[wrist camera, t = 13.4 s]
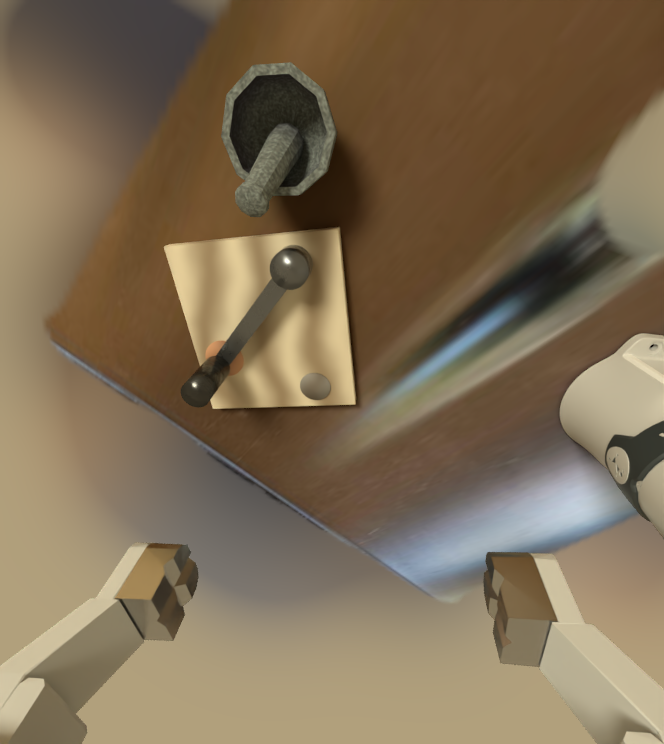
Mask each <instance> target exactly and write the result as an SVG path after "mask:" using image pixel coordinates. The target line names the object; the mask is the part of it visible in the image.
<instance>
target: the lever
mask: <svg viewBox="0 0 664 744" xmlns="http://www.w3.org/2000/svg"><path fill="white" fill-rule="evenodd" d="M312 269H313V261H312V257H311V255H310V254H309V252H308V251H307V250H306V249H304V248H303V247H301V246H298V245H289V246H286V247H284V248H283V249H282V250H281V251H279V252H278V253H277V254H276V255H275V256H274V257H273V258H272V260H271V263H270V274H271V277H272V279H271V280H270V281H269V283H268V284H267V285H266V287H265V288H264V290H263V291H262V292H261V294H260V295H259V297H258V298H257V299H256V301H255V302H254V303H253V305H252V306H251V308H250V309H249V310H248V312H247V313H246V315H245V316H244V317H243V319H242V320H241V321H240V323H239V324H238V326H237V327H236V328H235V330H234V331H233V332H232V334H231V335H230V337H229V338H228V339H227V341H226V342H225V344H224V345H223V346H222V348H221V349H220V350H219V352H218V353H217V355H216V356H211V357H209V358H208V359H207V360H206V361H205V362H204V363H203V364H202V365H201V366H200V367H199V368H198V370H197V371H196V372H195V373H194V374H193V375H192V376H191V377H190V378H189V380H188V381H187V382H186V383H185V384H184V385H183V386H182V388H181V396H182V398H183V399H184V401H185V402H186V403H188V404H189V405H191V406H194V407H203V406H205V405H207V403H208V402H209V401H210V399H211V398H212V397H213V395H214V394H215V393H216V391H217V390H218V389H219V387H220V386H221V384H222V383H223V382H224V380H225V379H226V378H227V376H228V375H229V373H230V366H229V365H230V364H231V363H232V362H233V360H234V359H235V358H236V356H237V355H238V354H239V352H240V351H241V350H242V348H243V347H244V346H245V344H246V343H247V342H248V340H249V339H250V338H251V336H252V335H253V334H254V333H255V331H256V330H257V329H258V327H259V326H260V325H261V323H262V322H263V321H264V319H265V318H266V317H267V315H268V314H269V313H270V311H271V310H272V309H273V308H274V306H275V305H276V304H277V302H278V301H279V300H280V298H281V297H282V296H283V294H284V293H285V292H286V290H294V289H297V288H299V287H301V286H302V285H303V284H304V283H305V282H306V280H307V279H308V277H309V276H310V274H311V272H312Z"/></svg>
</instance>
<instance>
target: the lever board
mask: <svg viewBox="0 0 664 744" xmlns="http://www.w3.org/2000/svg"><path fill="white" fill-rule="evenodd" d="M289 245H298V246H301V247H303V248H304V249H306V250H307V251H308V252H309V254H310V255H311V257H312V261H313V269H312V272H311V274H310V276H309V277H308V279H307V280H306V282H305V283H304V284H303V285H302V286H301V287H299V288H297V289H294V290H286V292H285V293H284V294H283V296H282V297H281V298H280V300H279V301H278V302H277V304H276V305H275V306H274V308H273V309H272V310H271V311H270V313H269V314H268V315H267V317H266V318H265V319H264V321H263V322H262V323H261V325H260V326H259V327H258V329H257V330H256V331H255V333H254V334H253V335H252V336H251V338H250V339H249V340H248V342H247V343H246V344H245V346H244V347H243V348H242V350H241V351H240V352H239V354H238V355H237V356H236V358H235V359H234V360H233V362H232V363H231V364H230V365H229V366H230V373H229V375H228V376H227V378H226V379H225V380H224V382H223V383H222V384H221V386H220V387H219V389H218V390H217V391H216V393H215V394H214V395H213V397H212V398H211V399H210V400H211V403H212V407H213V409H223V408H255V407H288V406H320V405H353V404H356V392H355V381H354V371H353V360H352V350H351V339H350V329H349V318H348V308H347V298H346V287H345V277H344V266H343V256H342V245H341V235H340V227H334V228H324V229H314V230H305V231H295V232H285V233H275V234H266V235H256V236H246V237H237V238H227V239H217V240H207V241H198V242H188V243H178V244H170V245H167V246H164V249H165V252H166V256H167V259H168V262H169V265H170V269H171V272H172V275H173V279H174V282H175V285H176V288H177V292H178V295H179V298H180V302H181V305H182V308H183V311H184V315H185V318H186V321H187V325H188V328H189V331H190V334H191V338H192V341H193V344H194V347H195V351H196V354H197V357H198V361H199V364H200V366H201V365H202V364H203V363H204V362H205V361H206V360H207V359H208V358H209V357H211V356H216V355H217V353H218V352H219V350H220V349H221V348H222V346H223V345H224V344H225V342H226V341H227V339H228V338H229V337H230V335H231V334H232V332H233V331H234V330H235V328H236V327H237V326H238V324H239V323H240V321H241V320H242V319H243V317H244V316H245V315H246V313H247V312H248V310H249V309H250V308H251V306H252V305H253V303H254V302H255V301H256V299H257V298H258V297H259V295H260V294H261V292H262V291H263V290H264V288H265V287H266V285H267V284H268V283H269V281H270V280H271V279H272V277H271V274H270V263H271V260H272V258H273V257H274V256H275V255H276V254H277V253H278V252H279V251H281V250H282V249H283V248H284V247H286V246H289Z"/></svg>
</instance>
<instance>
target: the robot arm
mask: <svg viewBox="0 0 664 744" xmlns="http://www.w3.org/2000/svg"><path fill="white" fill-rule="evenodd" d="M653 344H654V346H653V347H652V348H650V346H651V345H653ZM560 421H561V424H562V427H563V429H564V430H565V432H566V433H567V434H568V436H569V437H571V438H572V439H573V440H574V441H576V442H577V443H579V444H580V445H581V446H583V447H584V448H585V449H586V450H587V451H589V452H590V453H591V454H592V455H593V456H594V457H595V458H596V459H597V460H598V461H599V462H600V463H601V464H602V465H604V466H605V467H606V468H607V469H608V470H609V472H610V474H611V476H612V477H613V479H614V481H615V482H616V484H617V486H618V487H619V489H620V490H621V491H622V493H623V494H624V495H625V497H626V498H627V499H628V500H629V502H630V503H631V504H632V505H633V507H634V508H635V509H636V510H637V512H638V513H639V514H640V515H641V516H642V517H644V518H645V519H646V520H648V521H650V522H651V523H652V524H653V525H654V527H655V528H656V529H657V531H658V532H659V533H660V535H661V536H662V537H663V539H664V336H662V335H653V334H638V335H635V336H634V337H632V338H631V339H629V340H628V341H627V342H626V343H625V344H624V345H623V346H622V347H621V348H620V349H619V350H618V351H617V352H616V353H614V354H613V355H612V356H610V357H608V358H606V359H604V360H602V361H600V362H599V363H597V364H595V365H593V366H592V367H590V368H589V369H587V370H586V371H585V372H583V373H582V374H581V375H580V376H579V377H578V378H577V379H576V380H575V381H574V382H573V383H572V384H571V385H570V387H569V388H568V390H567V391H566V393H565V395H564V397H563V399H562V402H561V406H560ZM190 554H191V551H190V549H189V547H188V545H182V544H159V543H137V542H136V543H135V544H133V545H132V546H131V547H130V548H129V549H128V551H127V552H126V554H125V555H124V557H123V558H122V560H121V561H120V563H119V564H118V566H117V567H116V569H115V570H114V572H113V573H112V575H111V576H110V578H109V579H108V581H107V582H106V584H105V585H104V587H103V588H102V590H101V591H100V593H99V594H98V596H97V597H96V598H91V599H89V600H88V601H86V602H85V603H84V604H82V605H81V606H80V607H78V608H77V609H76V610H74V611H73V612H72V613H70V614H69V615H68V616H66V617H65V618H64V619H62V620H61V621H60V622H58V623H57V624H56V625H54V626H53V627H52V628H50V629H49V630H48V631H46V632H45V633H44V634H42V635H41V636H40V637H38V638H37V639H36V640H34V641H33V642H32V643H30V644H29V645H27V646H26V647H25V648H23V649H22V650H21V651H19V652H18V653H17V654H15V655H14V656H13V657H11V658H10V659H9V660H8V661H6V662H5V663H3V664H2V665H1V666H0V744H82V742H83V740H84V738H85V736H86V734H87V726H86V725H85V724H84V723H83V721H82V720H81V719H80V718H79V717H78V716H77V715H76V713H77V712H78V711H79V710H80V709H81V708H82V707H83V705H84V704H85V703H86V702H87V701H88V700H89V699H90V698H91V697H92V696H93V695H94V694H95V693H96V692H97V691H98V690H99V689H100V687H102V685H103V684H104V683H105V682H106V681H107V680H108V679H109V678H110V677H111V676H112V675H113V674H114V673H115V672H116V671H117V670H118V669H119V668H120V667H121V666H122V664H123V663H124V662H125V661H126V660H127V659H128V658H129V657H130V656H131V655H132V654H133V653H134V652H135V651H136V650H137V649H138V648H139V647H140V646H141V644H142V643H143V642H144V640H166V641H173V640H174V638H175V635H176V634H177V631H178V629H179V627H180V625H181V622H182V620H183V618H184V616H185V613H184V608H183V606H184V605H185V604H186V603H187V602H189V601H190V600H191V599H192V597H193V595H194V592H195V590H196V587H197V582H198V568H197V565H196V563H195V562H194V561H193V560H191V559H190V558H189V556H190ZM485 562H486V565H487V569H488V570H487V571H486V572H484V581H483V583H484V594H485V600H486V605H487V609H488V613H489V615H490V616H491V617H492V618H493V619H494V620H495V621H494V628H493V635H494V639H495V643H496V647H497V651H498V655H499V659H500V663H503V664H514V665H524V666H535V667H540V668H539V669H540V671H541V672H542V673H543V674H544V676H545V677H546V679H547V680H548V681H549V682H550V684H551V685H552V686H553V687H554V689H555V690H556V691H557V693H558V694H559V695H560V697H561V698H562V699H563V700H564V702H565V703H566V704H567V706H568V707H569V708H570V709H571V711H572V712H573V713H574V715H575V716H576V717H577V718H578V720H579V721H580V722H581V724H582V725H583V726H584V727H585V729H586V730H587V731H588V733H589V734H590V735H591V736H592V738H593V739H594V740H595V742H596V743H597V744H664V689H663V688H662V687H661V686H660V685H659V684H658V683H656V682H655V681H654V680H653V679H652V678H651V677H650V676H649V675H648V674H647V673H646V672H645V671H643V670H642V669H641V668H640V667H639V666H638V665H637V664H636V663H635V662H634V661H632V660H631V659H630V658H629V657H628V656H627V655H626V654H625V653H624V652H623V651H621V649H619V648H618V647H617V646H616V645H615V644H614V643H613V642H612V641H611V640H610V639H608V638H607V637H606V636H605V635H604V634H603V633H602V632H601V631H600V630H599V629H597V628H596V627H595V626H594V625H593V624H586V623H585V621H584V619H583V617H582V614H581V612H580V610H579V608H578V606H577V603H576V601H575V599H574V597H573V595H572V592H571V590H570V588H569V586H568V583H567V581H566V579H565V577H564V575H563V573H562V570H561V568H560V566H559V564H558V561H557V559H556V558H555V557H554V556H553V554H542V553H518V552H488V553H487V554H486V561H485Z"/></svg>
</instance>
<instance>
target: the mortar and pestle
mask: <svg viewBox="0 0 664 744" xmlns="http://www.w3.org/2000/svg"><path fill="white" fill-rule="evenodd" d="M221 137H222V140H223V142H224V144H225V147H226V149H227V152H228V154H229V157H230V159H231V161H232V164H233V166H234V169H235V171H236V173H237V175H238V176H240V177H241V178H242V179H244V180H245V182H243V183H242V184H241V185H240V186H239V187H238V188H237V190H236V192H235V197H236V203H237V205H238V206H239V208H240V210H241V211H242V212H244V213H245V214H247V215H249V216H250V217H261V216H262V215H263V214H265V213H266V212H267V211H268V209H269V201H270V199H271V198H272V196H285V195H301V194H303V193H304V192H305V191H306V190H307V189H308V188H309V187H311V186H312V185H313V184H314V183H315V182H316V181H317V180H319V179H320V178H321V177H322V176H323V175H324V174H325V173H327V172H328V168H329V164H330V160H331V156H332V152H333V148H334V144H335V140H336V137H337V130H336V127H335V123H334V120H333V116H332V113H331V110H330V106H329V103H328V100H327V96H326V93H325V91H324V90H323V89H322V88H321V87H320V86H319V85H317V84H316V83H315V82H314V81H313V80H311V79H310V78H309V77H308V76H306V75H305V74H304V73H303V72H302V71H300V70H299V69H298V68H297V67H296V66H294V65H293V64H292V63H277V64H262V65H253V66H252V67H251V68H250V69H249V70H248V71H247V72H246V73H245V74H244V76H243V77H242V78H241V79H240V80H239V81H238V82H237V83H236V85H235V86H234V87H233V88H232V89H231V90H230V91H229V92H228V94H227V95H226V103H225V111H224V119H223V127H222V135H221Z"/></svg>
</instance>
